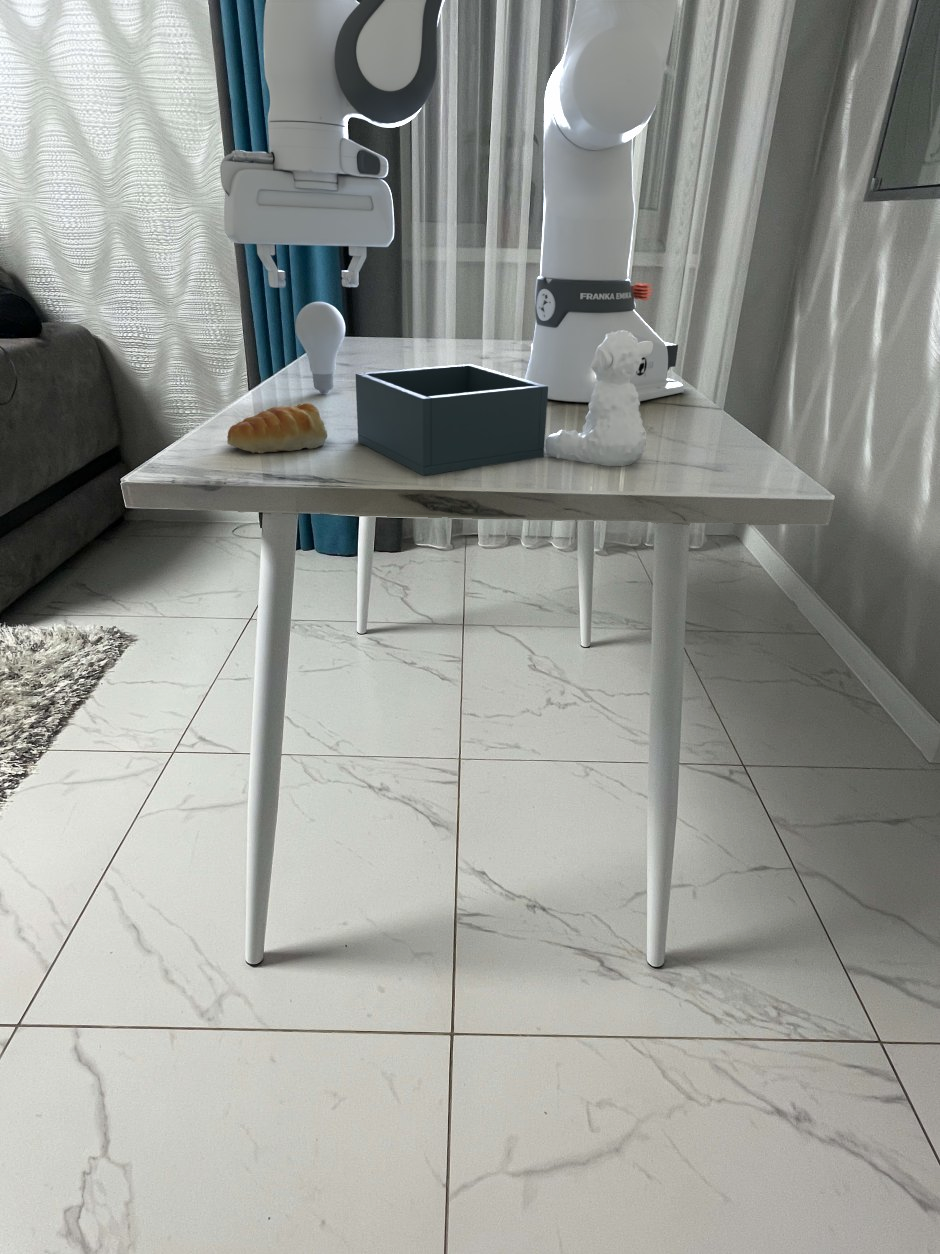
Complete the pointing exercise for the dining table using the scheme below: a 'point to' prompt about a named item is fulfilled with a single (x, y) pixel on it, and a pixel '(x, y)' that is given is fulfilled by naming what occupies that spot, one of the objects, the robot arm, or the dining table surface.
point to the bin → (451, 417)
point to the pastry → (280, 430)
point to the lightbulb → (321, 341)
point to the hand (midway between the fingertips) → (314, 287)
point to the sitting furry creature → (609, 408)
